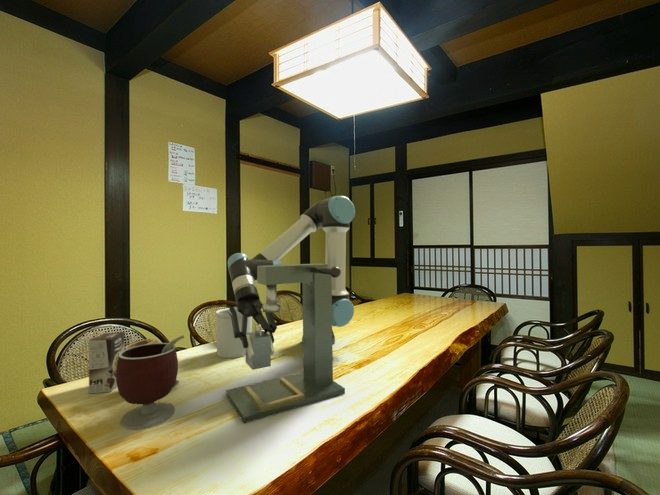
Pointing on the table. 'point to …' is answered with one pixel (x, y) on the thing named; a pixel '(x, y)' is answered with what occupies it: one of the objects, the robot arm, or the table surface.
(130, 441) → the table surface
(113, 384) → the coffee box
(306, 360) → the press
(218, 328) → the utensil holder
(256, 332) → the block
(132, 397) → the mate gourd
